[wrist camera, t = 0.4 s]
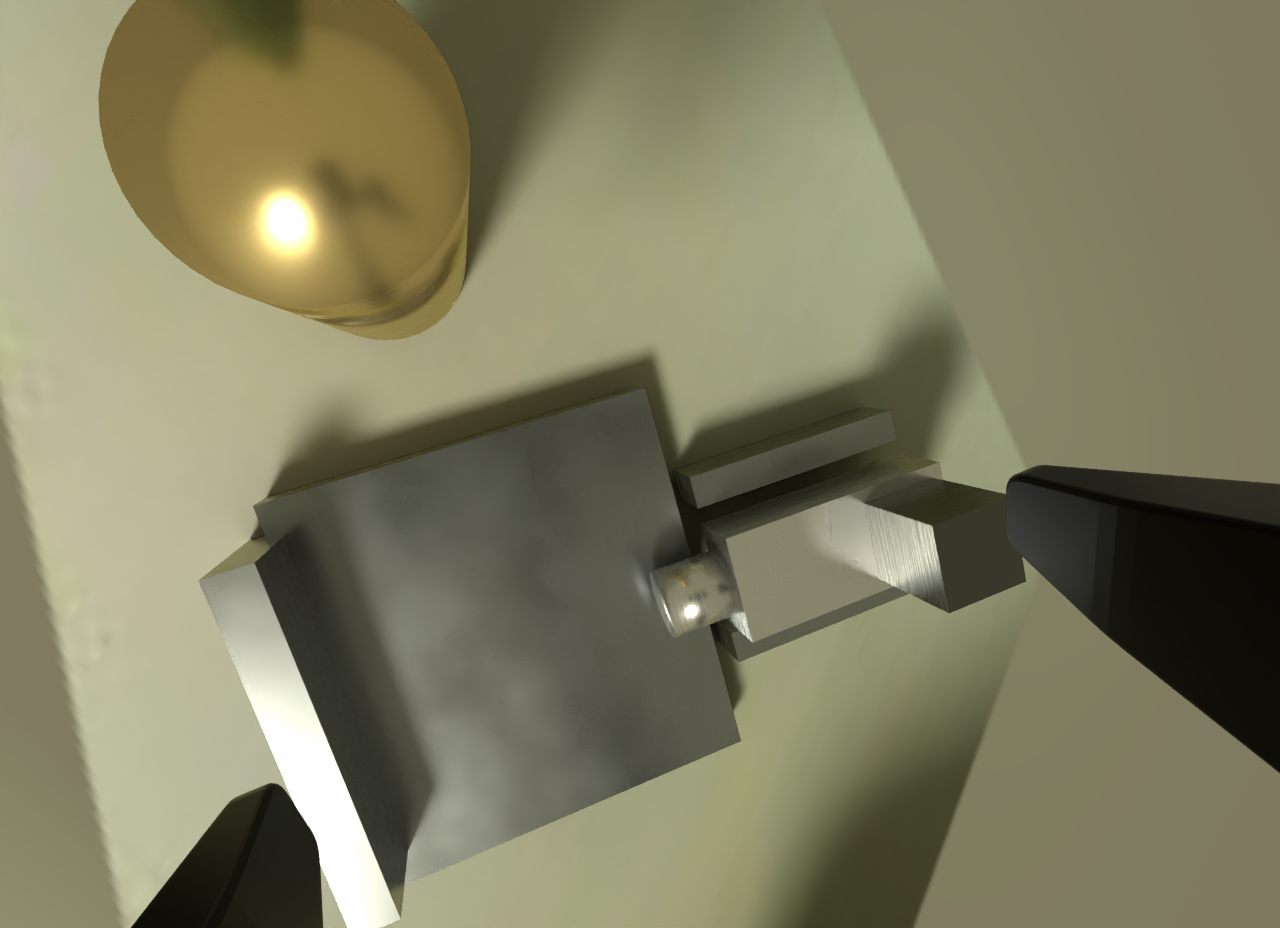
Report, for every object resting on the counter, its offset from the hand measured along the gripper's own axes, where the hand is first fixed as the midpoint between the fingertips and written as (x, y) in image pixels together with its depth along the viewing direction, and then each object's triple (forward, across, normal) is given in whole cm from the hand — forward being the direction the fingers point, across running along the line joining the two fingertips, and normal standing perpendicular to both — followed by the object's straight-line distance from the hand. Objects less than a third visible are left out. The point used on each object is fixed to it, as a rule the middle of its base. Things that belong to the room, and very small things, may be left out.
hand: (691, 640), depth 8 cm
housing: (+15, +2, -4) cm, 16 cm away
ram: (+11, -6, +7) cm, 14 cm away
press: (+12, -1, +7) cm, 14 cm away
